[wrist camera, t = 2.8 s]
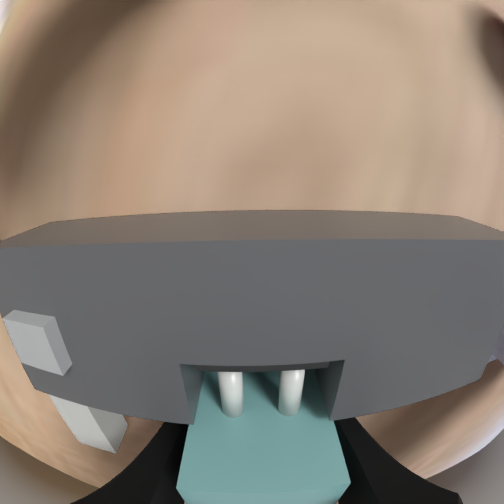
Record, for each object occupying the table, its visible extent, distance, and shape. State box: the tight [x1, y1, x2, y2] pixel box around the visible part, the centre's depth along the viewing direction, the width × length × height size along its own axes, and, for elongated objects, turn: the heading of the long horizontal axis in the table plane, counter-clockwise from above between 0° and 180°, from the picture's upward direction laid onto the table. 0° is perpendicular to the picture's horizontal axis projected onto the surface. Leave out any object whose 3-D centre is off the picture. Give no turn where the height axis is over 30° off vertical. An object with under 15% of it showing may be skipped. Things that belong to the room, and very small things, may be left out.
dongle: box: [49, 394, 128, 454], centre depth 8 cm, size 2×4×2 cm, turn 1°
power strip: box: [0, 210, 504, 425], centre depth 8 cm, size 21×6×5 cm, turn 91°
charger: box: [176, 369, 351, 504], centre depth 8 cm, size 4×7×6 cm, turn 1°
